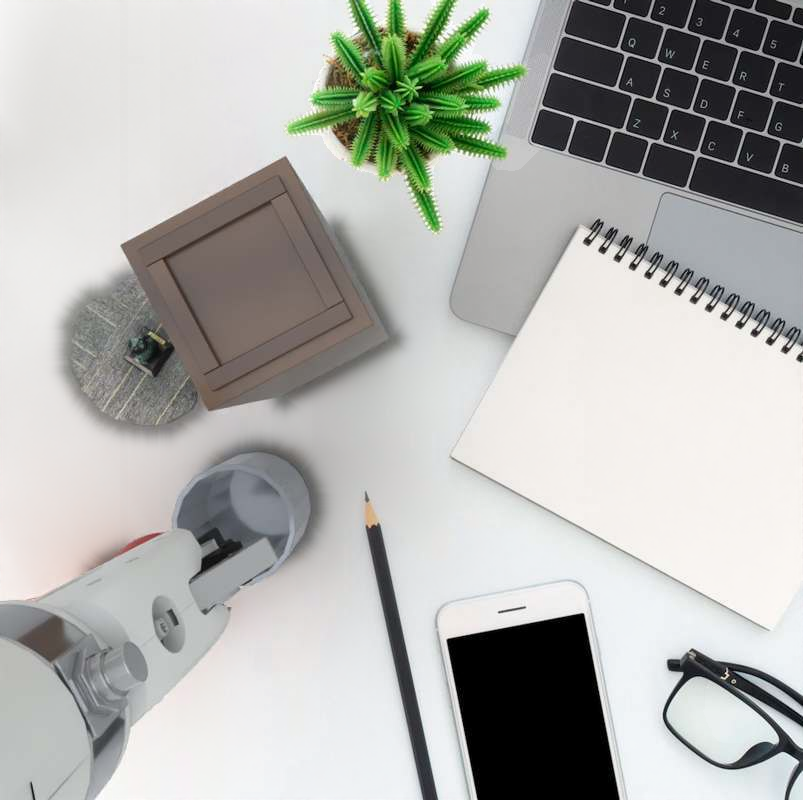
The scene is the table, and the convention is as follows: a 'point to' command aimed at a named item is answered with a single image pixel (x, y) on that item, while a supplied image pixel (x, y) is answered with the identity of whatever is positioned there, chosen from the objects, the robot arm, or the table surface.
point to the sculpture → (129, 359)
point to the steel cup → (248, 504)
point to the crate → (255, 290)
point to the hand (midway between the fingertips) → (169, 584)
